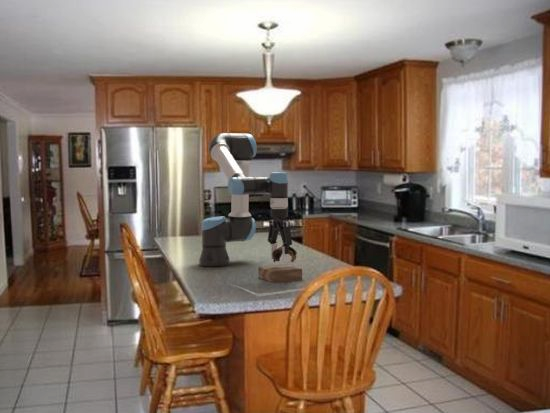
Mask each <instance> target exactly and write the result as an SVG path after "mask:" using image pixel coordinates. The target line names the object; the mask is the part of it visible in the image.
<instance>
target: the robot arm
mask: <svg viewBox="0 0 550 413" xmlns="http://www.w3.org/2000/svg"><path fill="white" fill-rule="evenodd" d="M256 142H257V141H256V139H255V137H254V136H253V135H252V134H250V133H245V132H244V133H242V132H241V133H240V132H239V133H238V132H237V133H236V132H235V133H233V132H228V133H227V132H221V133H217V135H215V136H213V138H211V140H210V142H209V143H208V152H209V155H210V157H211V158H212V160H214V161H216V163H217V164H218V166H219V167H220V169H221V171H222V172H223V173H224V176H225V177H226V178H227V180H228V182H227V189H228V192H229V194H230V195H231V205H230V206H231V212H229V213H228V217H227V218H226V216H222V215H220V216H212V217H208V218H205V219H203V220H202V222H201V242H202V243H201V244H202V245H201V246H202V250H201V253H200V256H199V259H198V265H199V266H202V267H223V266H227V265H230V261H231V260H230V257H229V254H228V251H227V245H226V243H233V242H235V243H236V242H242V243H243V242H245V241H246V242H248V241H251V240H252V239H253V238H254V237H255V234H256V226H257V225H256V220H255V219H254V218H253V217H252V214H251V213H250V212H249V206H250V205H249V196H250V195H269V196H270V197H269V199H270V200H269V205H270V210H269V212H270V213H269V214H270V217H271V218H272V219H270V220H268V222H269V223H268V225H269V227H268V235H267V236H268V237H267V242H268V243H269V244H270V259H271V260H273V259H274V258H273V255H272V253H273V251H274V250H276V249H278V242H277V239H278V235H279V233H280V237H281V241H282V246H281V247H282V248H283V253H282V262H283V263H286V262H287V263H288V262H290V255H289V246H290V247H291V246H292V245H293V240H292V233H291V232H292V231H291V221H287V220H286V218H287V217H289V209H288V207H289V201H288V194H289V193H288V191H289V190H288V184H289V181H288V173H287V172H285V171H273V172H270V173H269V176H250V163H252V161H253V158H254V157H256V155H257V152H258V149H257V143H256Z"/></svg>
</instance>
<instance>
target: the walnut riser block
mask: <svg viewBox="0 0 550 413" xmlns="http://www.w3.org/2000/svg"><path fill="white" fill-rule="evenodd" d="M258 278H259V279H261V280H265V281H267V282H269V283H273V284H274V283H282V282H291V281H301V280H303V269H302V268H301V267H298V266H294V265H290V264H277V265H266V266H258Z"/></svg>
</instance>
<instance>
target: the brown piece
mask: <svg viewBox="0 0 550 413" xmlns="http://www.w3.org/2000/svg"><path fill="white" fill-rule="evenodd" d="M297 253H298V252H297V250H296V249H294V248H293V247H292V246H291V245H290V246H289V257H291V259H290V262H291V263H294V262H295V260H296V259H297ZM272 255H273V258H274V259H272V261H273V263H276V262H280V260H281V258H282V256H283V248H282V246H280V247H277V249H276V250H274V251H273V253H272Z"/></svg>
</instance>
